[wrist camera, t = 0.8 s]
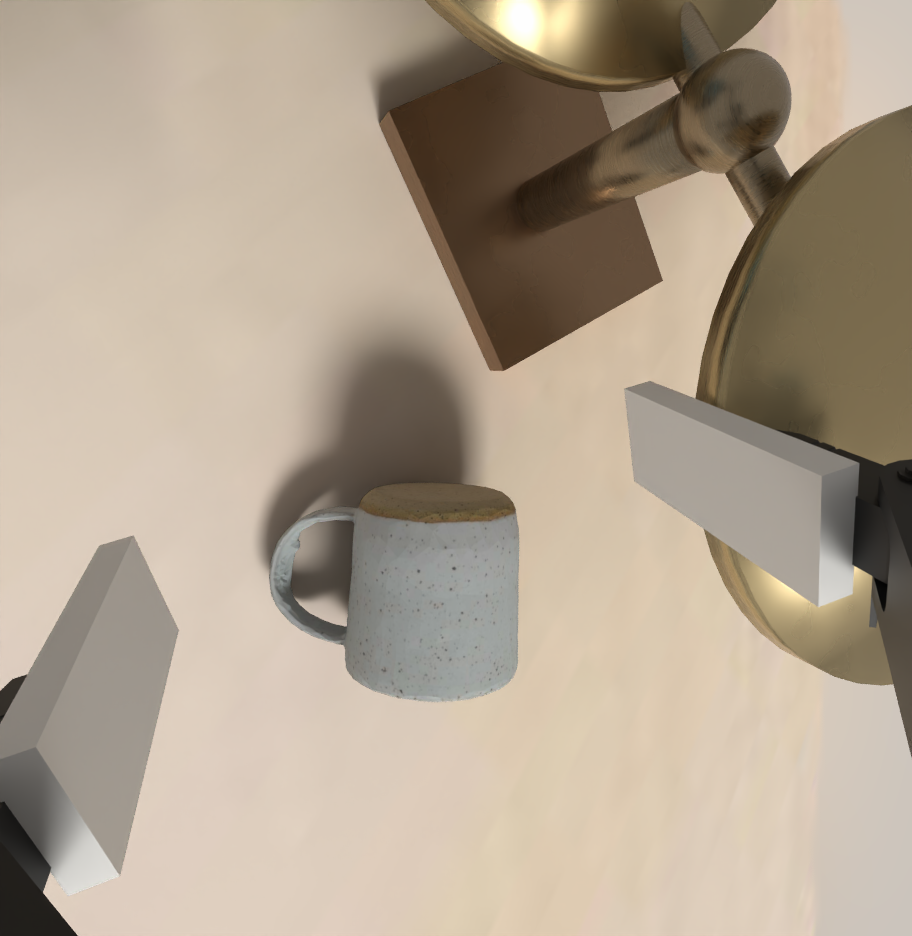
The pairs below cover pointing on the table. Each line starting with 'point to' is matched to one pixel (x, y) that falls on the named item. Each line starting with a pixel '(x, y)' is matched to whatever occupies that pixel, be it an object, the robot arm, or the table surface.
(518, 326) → the balance
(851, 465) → the robot arm
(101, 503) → the table surface
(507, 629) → the ceramic mug
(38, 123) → the table surface
